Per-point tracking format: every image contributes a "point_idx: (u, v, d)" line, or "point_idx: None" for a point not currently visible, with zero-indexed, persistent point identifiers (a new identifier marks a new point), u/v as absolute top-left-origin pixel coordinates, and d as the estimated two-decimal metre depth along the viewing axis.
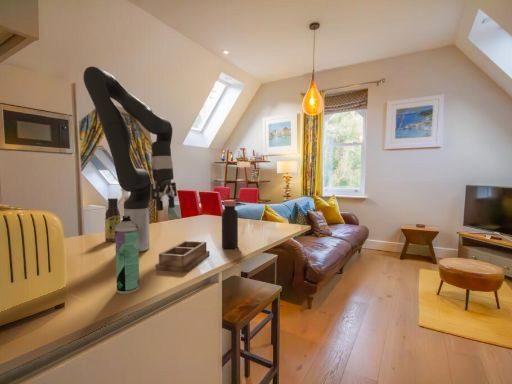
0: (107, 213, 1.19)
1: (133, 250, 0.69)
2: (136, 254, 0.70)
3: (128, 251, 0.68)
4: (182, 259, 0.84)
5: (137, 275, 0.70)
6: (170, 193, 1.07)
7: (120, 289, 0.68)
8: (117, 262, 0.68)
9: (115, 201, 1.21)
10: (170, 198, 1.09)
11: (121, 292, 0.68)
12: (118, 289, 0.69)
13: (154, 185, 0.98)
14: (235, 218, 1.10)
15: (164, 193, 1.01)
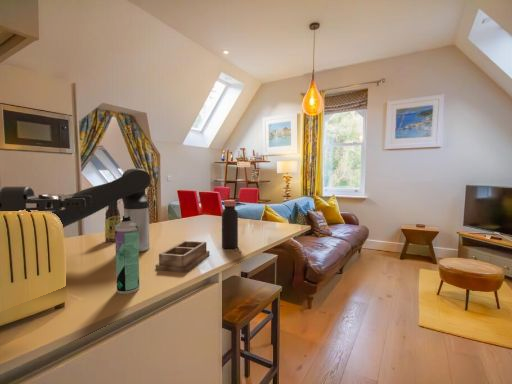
0: (107, 213, 1.19)
1: (133, 250, 0.69)
2: (136, 254, 0.70)
3: (128, 251, 0.68)
4: (182, 259, 0.84)
5: (137, 275, 0.70)
6: (62, 197, 0.66)
7: (120, 289, 0.68)
8: (117, 262, 0.68)
9: None
10: None
11: (121, 292, 0.68)
12: (118, 289, 0.69)
13: (29, 205, 0.56)
14: (235, 218, 1.10)
15: (53, 196, 0.60)
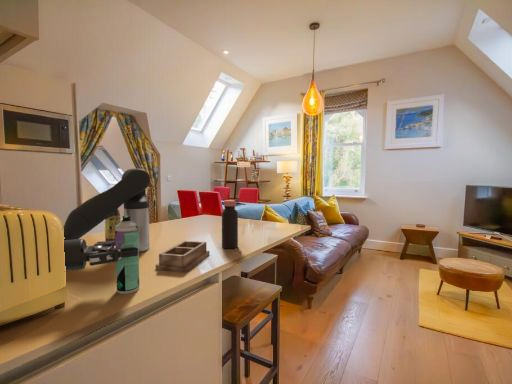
0: None
1: None
2: None
3: None
4: (182, 259, 0.84)
5: (137, 275, 0.70)
6: (111, 246, 0.70)
7: (120, 289, 0.68)
8: (117, 262, 0.68)
9: None
10: None
11: (121, 292, 0.68)
12: (118, 289, 0.69)
13: (93, 259, 0.61)
14: (235, 218, 1.10)
15: (108, 247, 0.66)
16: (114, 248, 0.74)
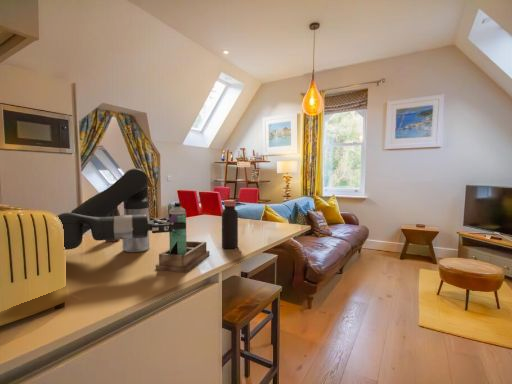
0: None
1: (183, 229, 0.88)
2: (185, 233, 0.89)
3: (179, 230, 0.87)
4: (182, 259, 0.84)
5: (185, 249, 0.89)
6: (164, 220, 0.90)
7: None
8: (171, 238, 0.87)
9: None
10: None
11: None
12: None
13: (154, 228, 0.79)
14: (235, 218, 1.10)
15: (164, 220, 0.84)
16: None
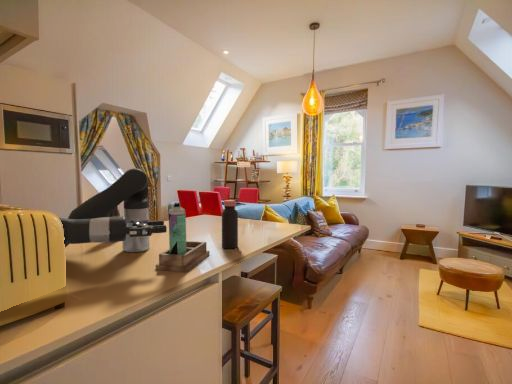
0: None
1: (183, 229, 0.88)
2: (185, 233, 0.88)
3: (179, 230, 0.87)
4: (182, 259, 0.84)
5: (185, 249, 0.89)
6: (145, 223, 0.86)
7: None
8: (171, 238, 0.87)
9: None
10: (151, 225, 0.89)
11: None
12: None
13: (132, 232, 0.76)
14: (235, 218, 1.10)
15: (144, 224, 0.81)
16: None
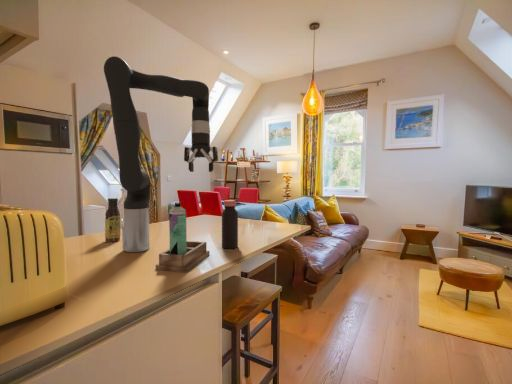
0: (107, 213, 1.19)
1: (183, 229, 0.88)
2: (185, 233, 0.89)
3: (180, 230, 0.87)
4: (182, 259, 0.84)
5: (185, 249, 0.89)
6: (195, 157, 1.12)
7: None
8: (171, 238, 0.87)
9: (115, 201, 1.21)
10: (191, 162, 1.12)
11: None
12: None
13: (216, 148, 1.09)
14: (235, 218, 1.10)
15: None
16: None
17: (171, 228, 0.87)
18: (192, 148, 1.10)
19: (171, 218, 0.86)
